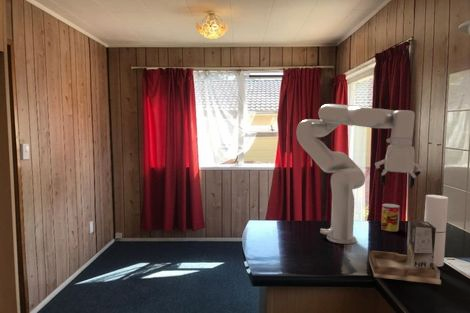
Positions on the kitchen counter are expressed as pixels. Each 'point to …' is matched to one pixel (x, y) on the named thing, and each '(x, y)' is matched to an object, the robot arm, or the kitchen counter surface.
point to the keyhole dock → (400, 268)
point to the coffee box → (420, 244)
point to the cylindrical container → (437, 223)
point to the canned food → (390, 217)
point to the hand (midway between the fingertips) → (396, 186)
